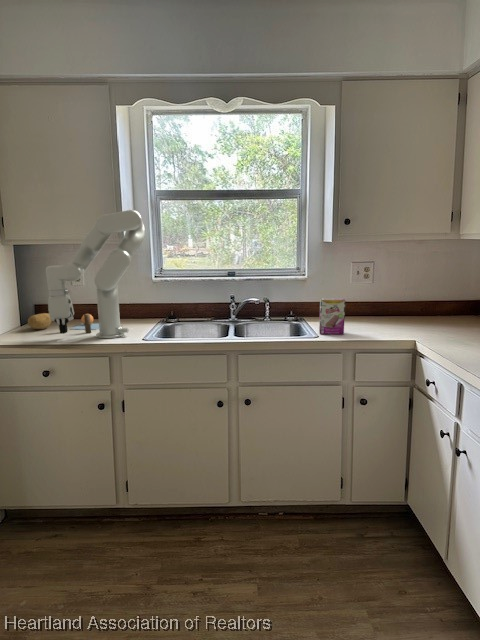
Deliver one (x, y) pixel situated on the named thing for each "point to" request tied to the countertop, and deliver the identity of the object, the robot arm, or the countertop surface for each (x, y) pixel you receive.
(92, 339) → the countertop surface
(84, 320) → the ball
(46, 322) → the potato
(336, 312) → the candy bar box
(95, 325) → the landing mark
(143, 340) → the countertop surface
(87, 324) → the right post
